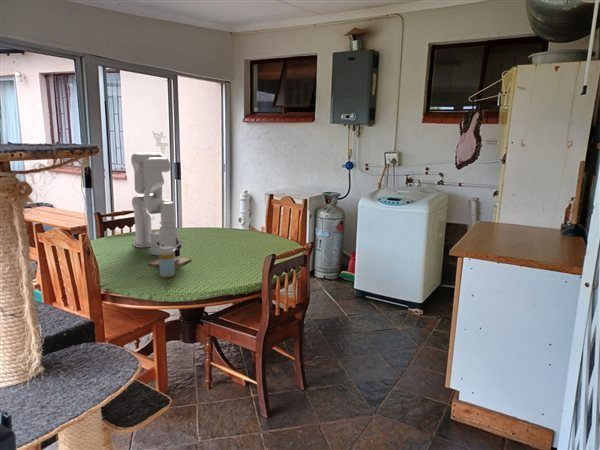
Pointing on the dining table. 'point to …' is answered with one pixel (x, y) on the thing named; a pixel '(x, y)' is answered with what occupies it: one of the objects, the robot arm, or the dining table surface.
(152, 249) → the supplement box
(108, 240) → the dining table surface
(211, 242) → the dining table surface
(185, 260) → the brown rectangular plate
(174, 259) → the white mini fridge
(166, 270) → the bottle
